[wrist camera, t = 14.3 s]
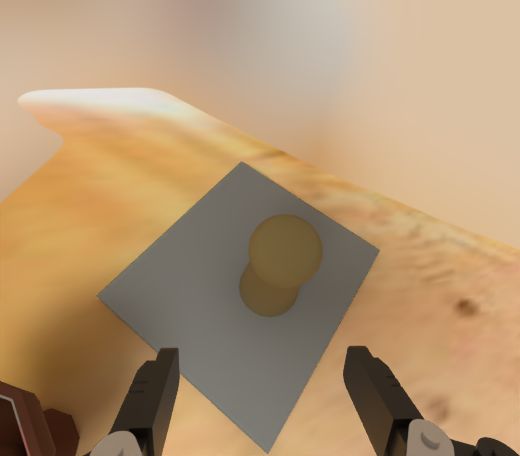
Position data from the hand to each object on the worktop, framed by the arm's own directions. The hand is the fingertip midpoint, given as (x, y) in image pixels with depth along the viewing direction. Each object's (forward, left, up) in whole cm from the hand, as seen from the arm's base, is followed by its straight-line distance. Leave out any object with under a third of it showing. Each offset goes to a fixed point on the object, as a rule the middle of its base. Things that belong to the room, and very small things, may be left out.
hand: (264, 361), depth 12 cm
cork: (+7, +3, -12) cm, 14 cm away
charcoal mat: (+7, +5, -13) cm, 16 cm away
